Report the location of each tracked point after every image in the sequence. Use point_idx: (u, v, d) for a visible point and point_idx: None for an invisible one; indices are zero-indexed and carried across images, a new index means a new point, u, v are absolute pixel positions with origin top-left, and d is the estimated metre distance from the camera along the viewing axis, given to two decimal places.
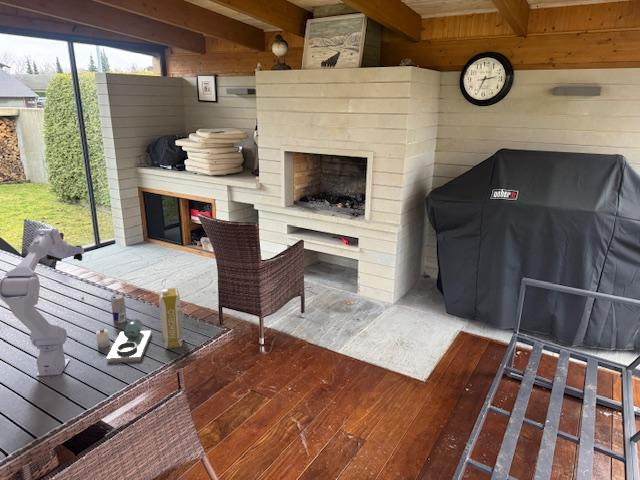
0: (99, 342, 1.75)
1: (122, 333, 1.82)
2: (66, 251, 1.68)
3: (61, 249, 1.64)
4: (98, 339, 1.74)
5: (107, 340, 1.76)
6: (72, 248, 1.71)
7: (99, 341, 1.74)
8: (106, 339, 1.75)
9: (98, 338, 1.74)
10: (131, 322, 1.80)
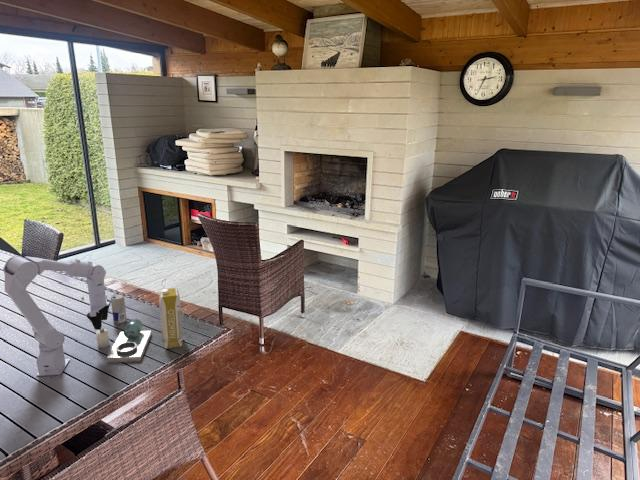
0: (99, 342, 1.75)
1: (122, 333, 1.82)
2: (92, 301, 1.69)
3: (95, 293, 1.67)
4: (98, 339, 1.74)
5: (107, 340, 1.76)
6: (98, 308, 1.69)
7: (99, 341, 1.74)
8: (106, 339, 1.75)
9: (98, 338, 1.74)
10: (131, 322, 1.80)
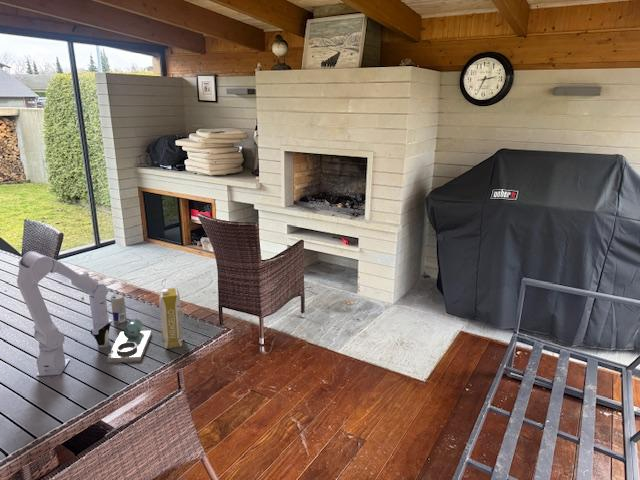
0: None
1: (122, 333, 1.82)
2: (94, 319, 1.71)
3: (97, 311, 1.70)
4: None
5: (107, 340, 1.76)
6: (100, 326, 1.71)
7: None
8: (106, 339, 1.75)
9: None
10: (131, 322, 1.80)
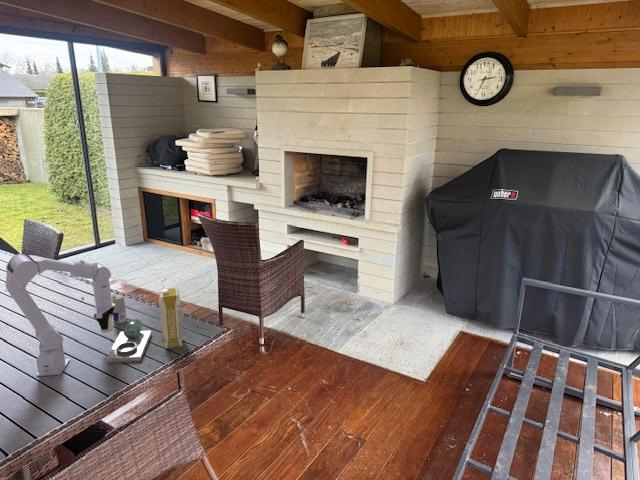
0: None
1: (122, 333, 1.82)
2: (97, 303, 1.67)
3: (99, 294, 1.66)
4: None
5: (110, 325, 1.72)
6: (104, 310, 1.67)
7: None
8: (109, 323, 1.72)
9: None
10: (131, 322, 1.80)
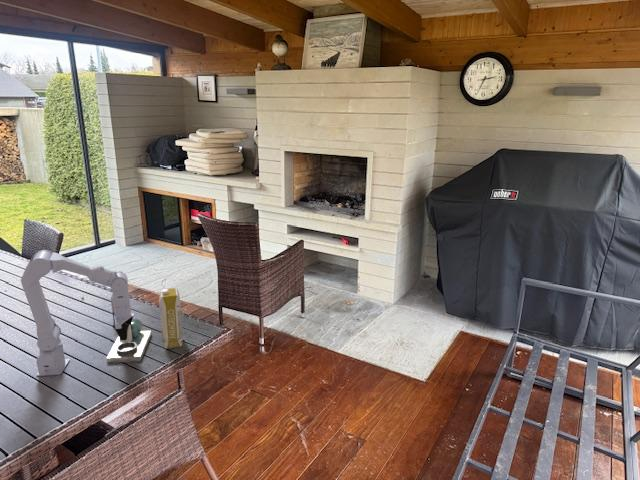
0: None
1: None
2: (116, 313, 1.63)
3: (115, 304, 1.62)
4: None
5: (129, 335, 1.68)
6: (123, 320, 1.63)
7: None
8: (128, 334, 1.68)
9: None
10: None
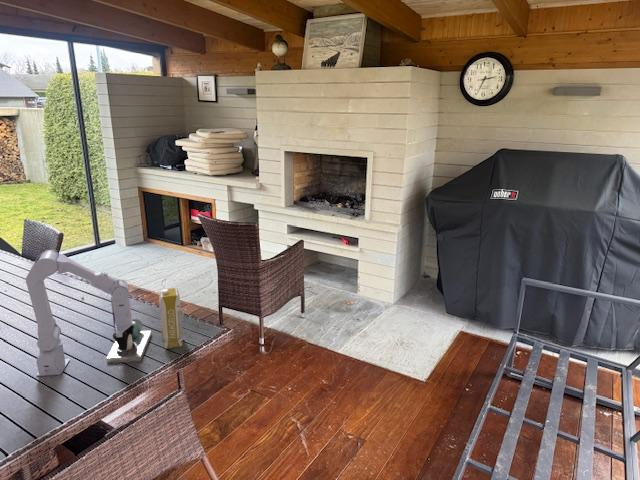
0: None
1: None
2: (117, 321, 1.64)
3: (116, 312, 1.63)
4: None
5: (130, 345, 1.70)
6: (124, 328, 1.64)
7: None
8: (129, 344, 1.69)
9: None
10: None
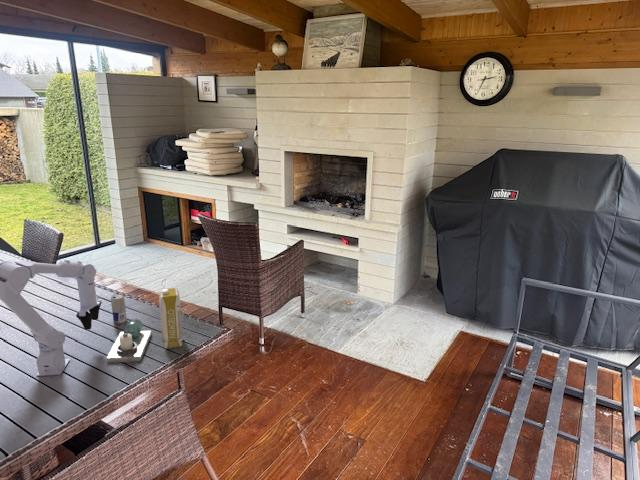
0: (122, 347, 1.68)
1: (122, 333, 1.82)
2: (81, 301, 1.67)
3: (85, 292, 1.66)
4: (121, 344, 1.68)
5: (130, 345, 1.70)
6: (88, 308, 1.67)
7: (122, 346, 1.68)
8: (129, 344, 1.69)
9: (121, 343, 1.68)
10: (131, 322, 1.80)
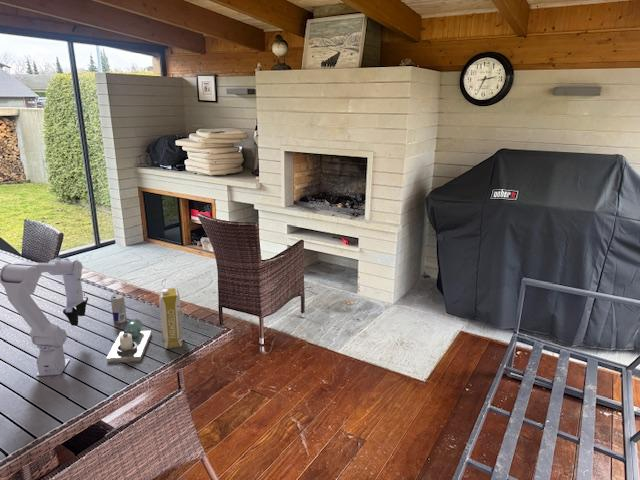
0: (122, 347, 1.68)
1: (122, 333, 1.82)
2: (68, 297, 1.69)
3: (75, 288, 1.68)
4: (121, 344, 1.68)
5: (130, 345, 1.70)
6: None
7: (122, 346, 1.68)
8: (129, 344, 1.69)
9: (121, 343, 1.68)
10: (131, 322, 1.80)
